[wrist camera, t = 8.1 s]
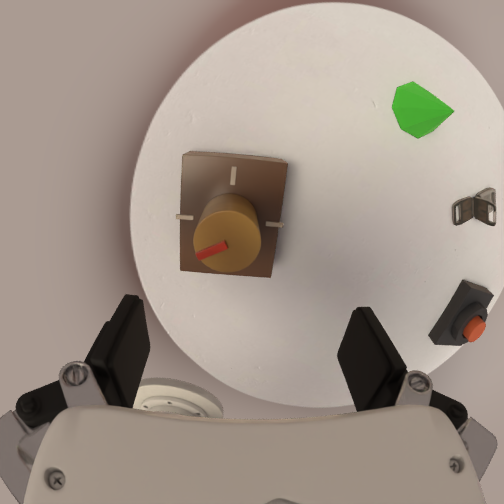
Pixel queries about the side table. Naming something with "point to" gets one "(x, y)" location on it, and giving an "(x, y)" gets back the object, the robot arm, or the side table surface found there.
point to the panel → (231, 182)
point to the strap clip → (477, 207)
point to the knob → (227, 234)
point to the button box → (461, 314)
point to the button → (474, 329)
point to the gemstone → (418, 110)
